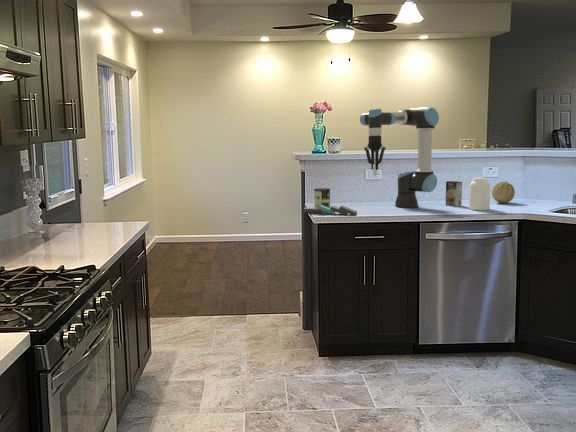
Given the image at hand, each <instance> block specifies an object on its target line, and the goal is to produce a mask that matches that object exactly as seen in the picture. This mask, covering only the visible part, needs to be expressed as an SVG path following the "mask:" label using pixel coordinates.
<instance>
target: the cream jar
mask: <svg viewBox="0 0 576 432" xmlns="http://www.w3.org/2000/svg"><path fill="white" fill-rule="evenodd" d="M468 191H469V194H468V196H469V197H468V208H469V210H472V211H488V210H490V209H491V208H490V207H491V184H490V182H489V181H488V178H487V177H473V179H472V181H471V182H470V184H469V190H468Z"/></svg>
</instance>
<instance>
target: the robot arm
mask: <svg viewBox="0 0 576 432" xmlns="http://www.w3.org/2000/svg"><path fill="white" fill-rule="evenodd" d="M439 120H440V115H439V112H438V111H437V109H436V108H435V107H432V106H431V107H430V106H427V107H425V106H423V107H411V108H407V109H399V110H398V111H385V112H384V111H383V110H382V108H370V109H369V110H368V112H364V113H362V114H361V115H360V117H359V122H360V124H361V125H362V126H368V144H367V146H364V148H363V149H364V151H365V155H366V158H367V163H368V164H370V165H371V167H370V168H371V170H372V176H376V177H377V175H378V170H379V164H381V163H382V161H383V158H384V153H385V151H386V149H387V147H386V146H383V144H382V126H391V125H395V124H396V125H397V124H398V125H401V126H412V127H413V126H414V127H415V129H416V130H417V132H418V133H417V134H418V135H417V137H418V139H417V144H418V145H417V168H416V170H414V171H413V170H412V171H404V172H399V173H398V174H397V196H396V199H395V202H394V206H395V207H397V208H416V207H419V201H418V199H417V195H416V193H417V192H422V193H431V192H433V191H434V190H435V189H436V187H437V184H438V177H437V175H436V174H435V173H434V170H433V169H432V151H433V150H432V149H433V148H432V147H433V131H434V130H435V129H436V127H435V126H437V125H438V123H439Z"/></svg>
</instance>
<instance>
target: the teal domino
mask: <svg viewBox="0 0 576 432" xmlns="http://www.w3.org/2000/svg"><path fill="white" fill-rule="evenodd" d="M330 208H331V207H330ZM330 208H329V207H326V206H324V205H320V206H319V208H318V209H321V210H323V212H326V213H328V214H331V215H335V214H336V212H335V211H332V210H330Z"/></svg>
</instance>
